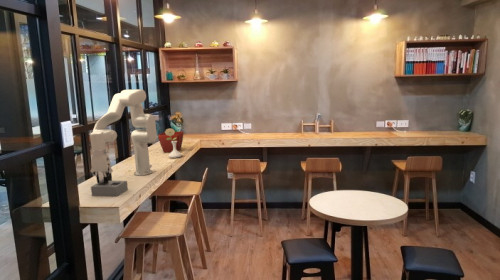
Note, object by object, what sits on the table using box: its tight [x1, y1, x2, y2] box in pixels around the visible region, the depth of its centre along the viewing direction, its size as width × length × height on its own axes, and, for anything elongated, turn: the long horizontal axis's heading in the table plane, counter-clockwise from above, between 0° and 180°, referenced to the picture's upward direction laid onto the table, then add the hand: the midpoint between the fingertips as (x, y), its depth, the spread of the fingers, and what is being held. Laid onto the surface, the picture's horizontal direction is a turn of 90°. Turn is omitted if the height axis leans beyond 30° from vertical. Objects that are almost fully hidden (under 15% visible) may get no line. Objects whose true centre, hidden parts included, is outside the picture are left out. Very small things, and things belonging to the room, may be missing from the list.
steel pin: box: [98, 171, 107, 185], centre depth 202 cm, size 4×4×11 cm
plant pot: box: [157, 131, 184, 153], centre depth 313 cm, size 19×19×17 cm
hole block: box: [90, 180, 129, 197], centre depth 202 cm, size 12×16×6 cm
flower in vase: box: [164, 128, 183, 159], centre depth 287 cm, size 13×11×25 cm
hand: (102, 182), depth 202 cm, fingers closed on steel pin, 3 cm apart
